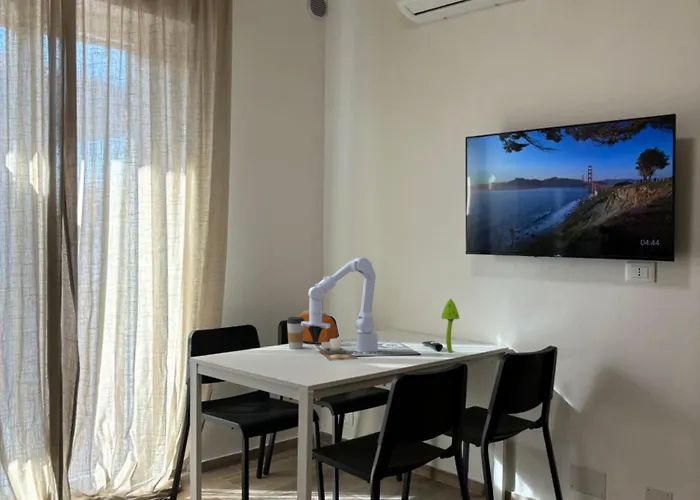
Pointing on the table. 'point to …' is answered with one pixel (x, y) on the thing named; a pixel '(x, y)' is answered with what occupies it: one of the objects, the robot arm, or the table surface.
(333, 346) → the cream tapered cylinder
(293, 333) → the coffee cup
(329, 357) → the board
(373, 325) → the robot arm
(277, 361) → the table surface
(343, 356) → the coaster
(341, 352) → the socket
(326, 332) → the orange toaster
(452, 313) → the mushroom
